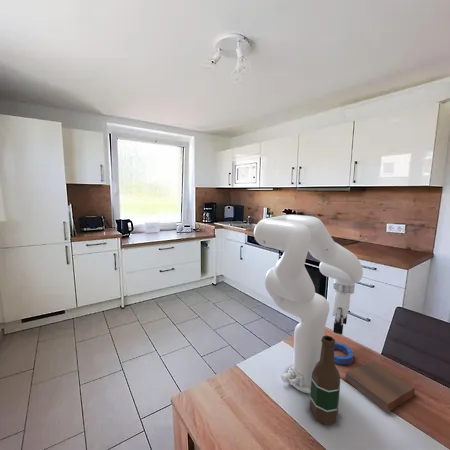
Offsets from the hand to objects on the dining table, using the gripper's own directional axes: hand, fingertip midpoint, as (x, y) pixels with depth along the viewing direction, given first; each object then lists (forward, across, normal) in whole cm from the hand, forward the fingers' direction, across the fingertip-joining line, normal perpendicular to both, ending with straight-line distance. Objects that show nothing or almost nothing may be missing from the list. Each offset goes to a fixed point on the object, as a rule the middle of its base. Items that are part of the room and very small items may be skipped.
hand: (339, 327), depth 98 cm
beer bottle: (+11, +33, +2) cm, 35 cm away
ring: (+10, +3, 0) cm, 11 cm away
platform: (+10, +13, +15) cm, 22 cm away
